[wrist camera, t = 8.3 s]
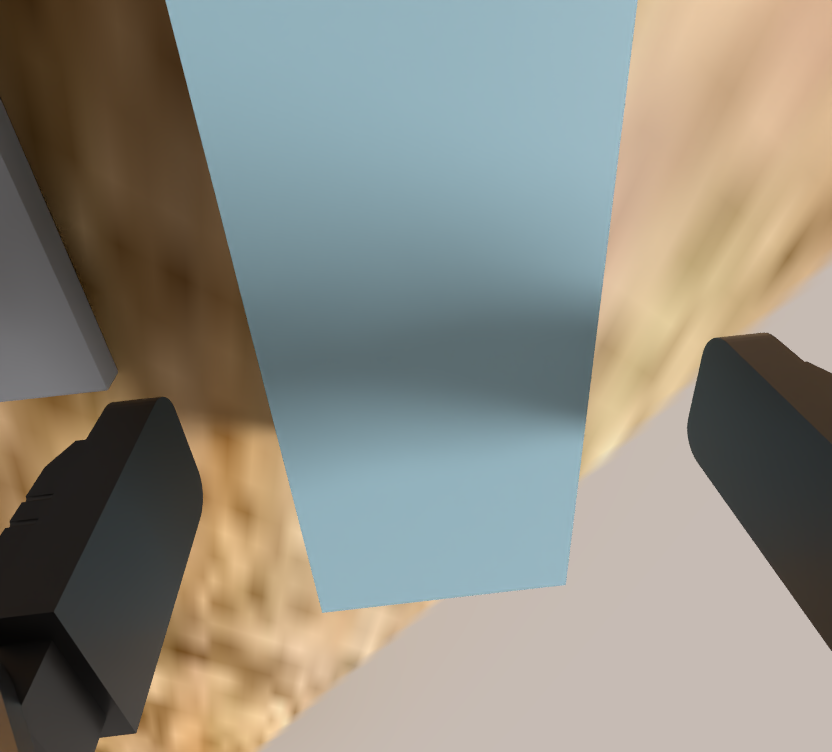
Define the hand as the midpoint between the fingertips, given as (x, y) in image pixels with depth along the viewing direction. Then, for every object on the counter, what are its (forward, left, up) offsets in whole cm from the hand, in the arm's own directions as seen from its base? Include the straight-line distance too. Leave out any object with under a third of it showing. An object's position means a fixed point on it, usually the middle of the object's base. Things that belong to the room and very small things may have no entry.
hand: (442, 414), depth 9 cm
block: (-1, 0, -6) cm, 6 cm away
